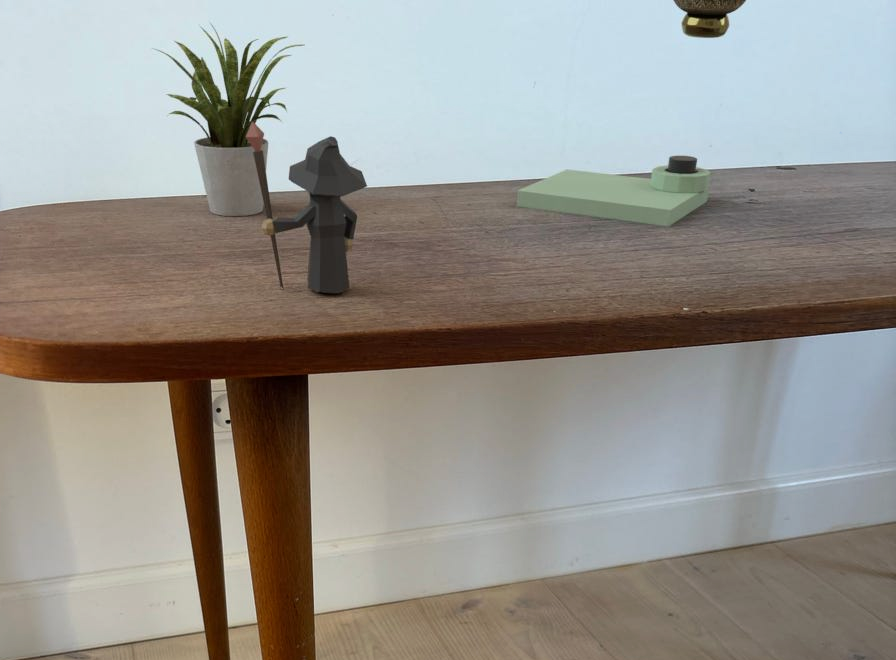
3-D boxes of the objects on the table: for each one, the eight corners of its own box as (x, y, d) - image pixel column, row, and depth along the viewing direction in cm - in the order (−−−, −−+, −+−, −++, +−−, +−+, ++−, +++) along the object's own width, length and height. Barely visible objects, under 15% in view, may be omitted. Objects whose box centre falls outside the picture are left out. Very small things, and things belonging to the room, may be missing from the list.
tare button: (698, 173, 108) (700, 157, 107) (690, 178, 106) (692, 161, 105) (671, 170, 109) (674, 154, 109) (663, 175, 107) (665, 158, 107)
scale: (711, 201, 110) (716, 168, 109) (671, 227, 101) (677, 192, 99) (566, 184, 117) (569, 152, 115) (516, 207, 107) (518, 173, 105)
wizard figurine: (349, 276, 86) (345, 113, 79) (378, 294, 81) (377, 124, 75) (252, 288, 82) (239, 119, 76) (277, 308, 78) (266, 131, 72)
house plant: (336, 198, 109) (331, 16, 100) (301, 230, 98) (292, 27, 89) (205, 191, 111) (188, 12, 102) (156, 221, 100) (132, 23, 91)
